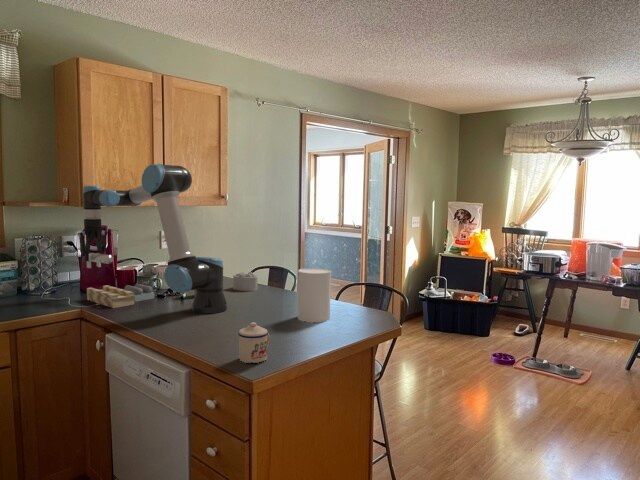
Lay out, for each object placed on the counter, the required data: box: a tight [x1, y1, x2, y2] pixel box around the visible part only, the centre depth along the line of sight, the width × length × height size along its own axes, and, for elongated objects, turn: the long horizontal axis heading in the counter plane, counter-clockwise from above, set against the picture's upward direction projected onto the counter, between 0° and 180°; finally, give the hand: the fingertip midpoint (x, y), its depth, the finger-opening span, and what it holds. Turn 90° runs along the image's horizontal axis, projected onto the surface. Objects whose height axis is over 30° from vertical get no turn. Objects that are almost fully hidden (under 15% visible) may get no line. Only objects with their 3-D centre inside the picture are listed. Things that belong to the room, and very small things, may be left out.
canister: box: [297, 267, 332, 323], centre depth 201 cm, size 14×14×20 cm
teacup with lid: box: [238, 321, 271, 362], centre depth 152 cm, size 12×9×12 cm
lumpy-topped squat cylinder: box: [232, 271, 258, 292], centre depth 259 cm, size 10×13×9 cm
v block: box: [123, 283, 155, 303], centre depth 232 cm, size 11×10×6 cm
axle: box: [89, 252, 114, 265], centre depth 228 cm, size 16×4×4 cm, turn 53°
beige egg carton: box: [86, 284, 135, 309], centre depth 224 cm, size 24×10×6 cm, turn 51°
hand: (93, 267), depth 232 cm, fingers closed on axle, 4 cm apart
